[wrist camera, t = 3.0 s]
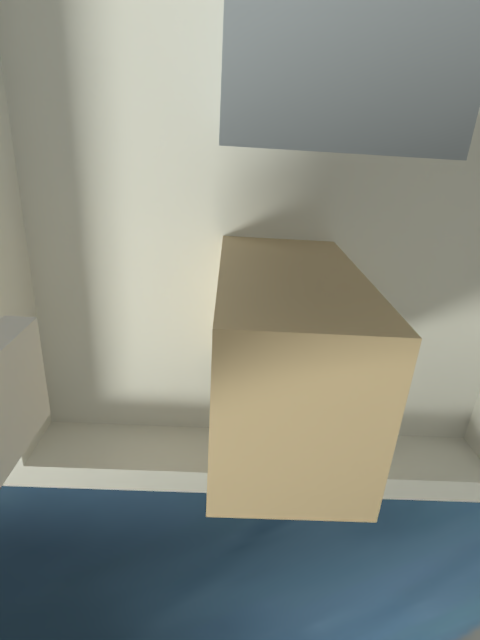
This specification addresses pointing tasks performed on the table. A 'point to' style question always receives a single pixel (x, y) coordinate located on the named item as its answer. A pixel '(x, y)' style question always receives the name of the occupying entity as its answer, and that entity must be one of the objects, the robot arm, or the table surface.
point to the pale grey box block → (351, 76)
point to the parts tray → (200, 246)
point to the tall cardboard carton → (303, 384)
